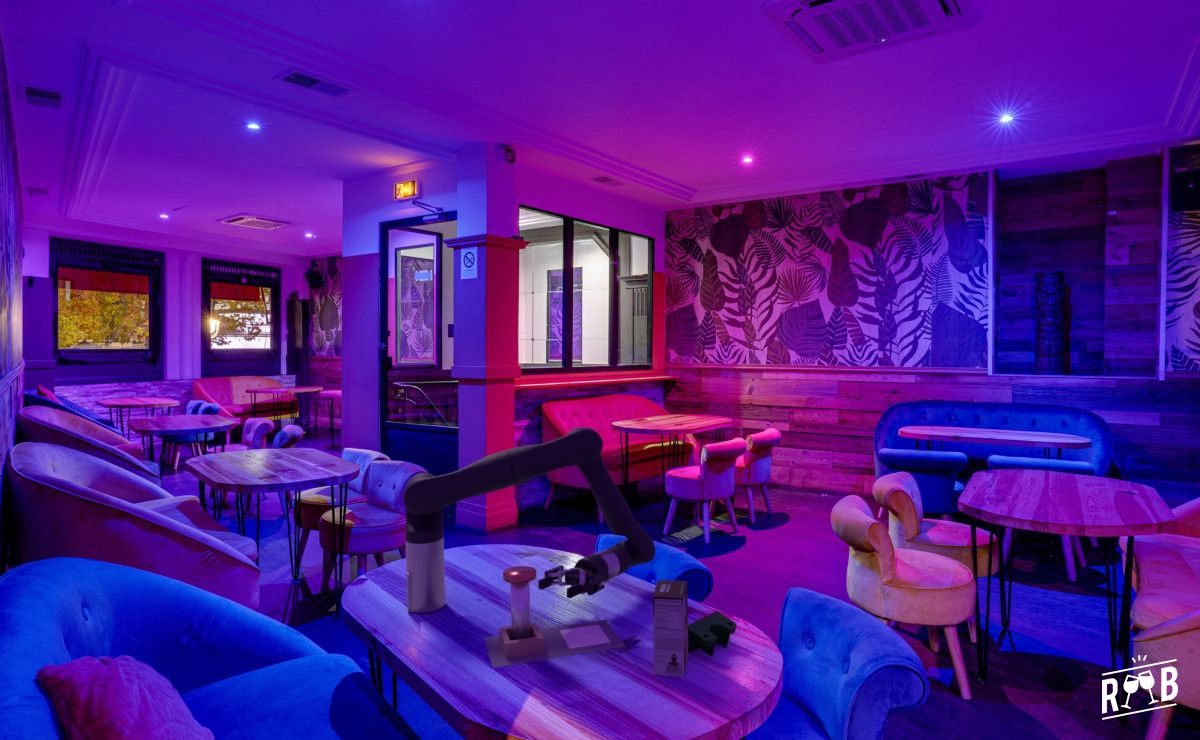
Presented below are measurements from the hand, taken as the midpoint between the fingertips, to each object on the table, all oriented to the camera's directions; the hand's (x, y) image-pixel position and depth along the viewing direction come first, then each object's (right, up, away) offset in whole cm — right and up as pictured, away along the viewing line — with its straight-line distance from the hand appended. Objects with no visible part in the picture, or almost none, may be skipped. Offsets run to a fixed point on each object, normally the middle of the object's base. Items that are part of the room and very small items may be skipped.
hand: (553, 589), depth 147 cm
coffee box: (+25, -11, -14) cm, 31 cm away
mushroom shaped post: (-6, -9, -8) cm, 14 cm away
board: (0, -11, -6) cm, 12 cm away
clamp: (+34, -11, -7) cm, 36 cm away
